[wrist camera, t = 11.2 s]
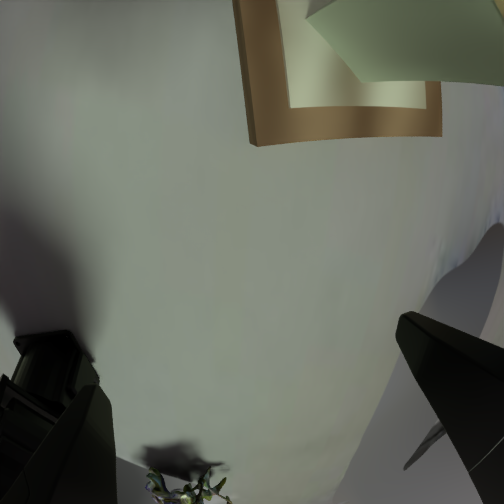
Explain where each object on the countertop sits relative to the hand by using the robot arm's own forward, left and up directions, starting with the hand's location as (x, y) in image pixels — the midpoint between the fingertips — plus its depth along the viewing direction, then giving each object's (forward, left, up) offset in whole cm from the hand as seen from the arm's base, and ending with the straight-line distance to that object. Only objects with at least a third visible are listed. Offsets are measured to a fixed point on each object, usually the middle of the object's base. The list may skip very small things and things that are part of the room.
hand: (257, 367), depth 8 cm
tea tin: (+10, +11, -11) cm, 18 cm away
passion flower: (-11, -34, -13) cm, 38 cm away
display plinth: (+10, +11, -13) cm, 20 cm away
